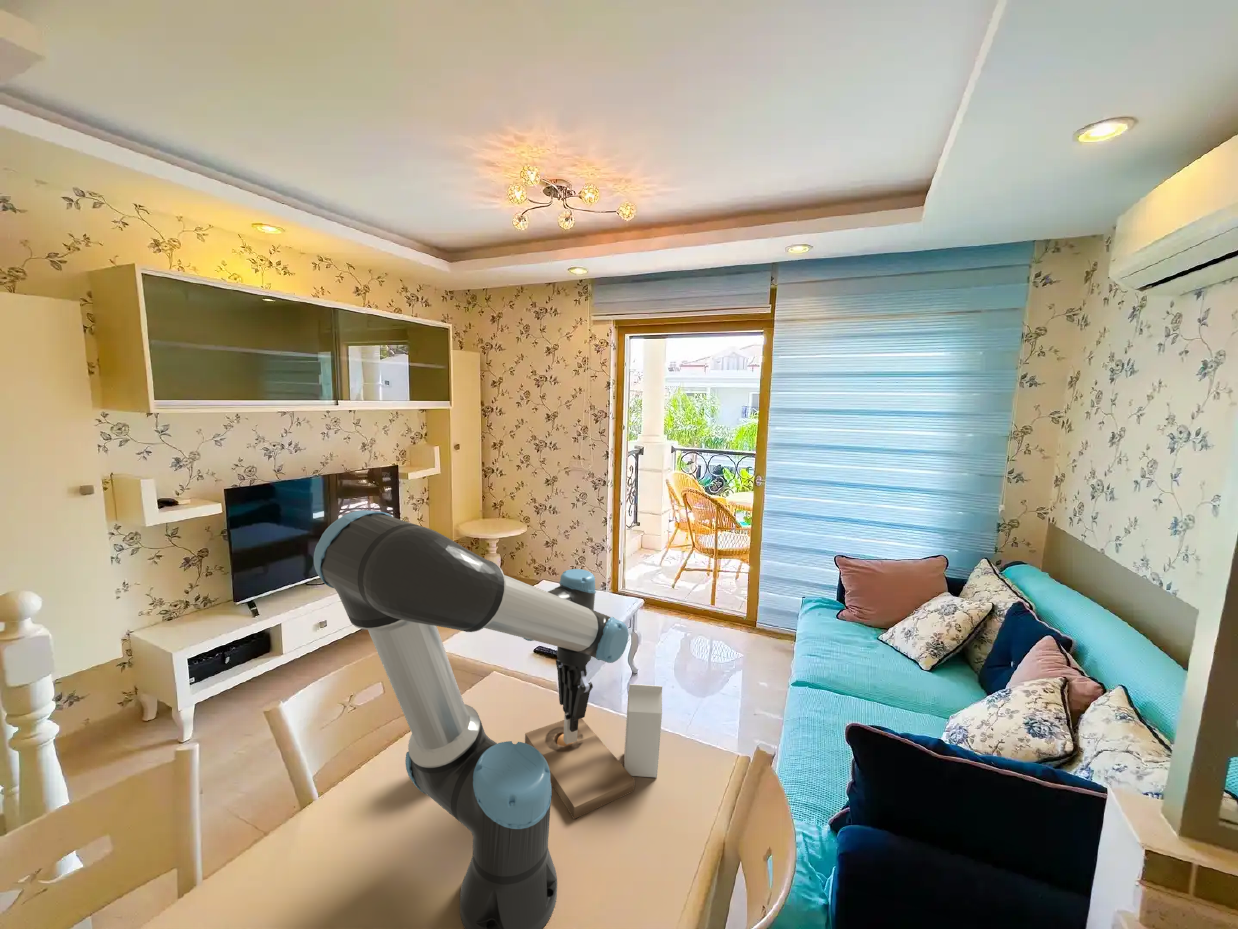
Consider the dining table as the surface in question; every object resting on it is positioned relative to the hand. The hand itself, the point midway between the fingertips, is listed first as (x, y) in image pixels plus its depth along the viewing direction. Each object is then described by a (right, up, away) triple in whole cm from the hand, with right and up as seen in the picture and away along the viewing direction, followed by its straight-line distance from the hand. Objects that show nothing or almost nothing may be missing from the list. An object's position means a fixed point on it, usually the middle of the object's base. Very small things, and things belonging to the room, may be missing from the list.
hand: (570, 740), depth 111 cm
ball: (-1, -2, +2) cm, 3 cm away
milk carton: (+16, -5, -1) cm, 16 cm away
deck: (+2, -4, -2) cm, 5 cm away
